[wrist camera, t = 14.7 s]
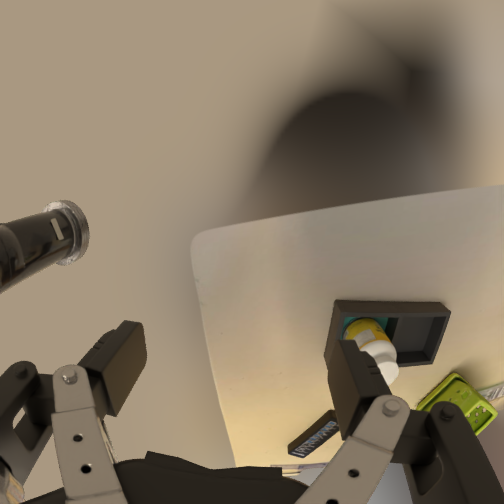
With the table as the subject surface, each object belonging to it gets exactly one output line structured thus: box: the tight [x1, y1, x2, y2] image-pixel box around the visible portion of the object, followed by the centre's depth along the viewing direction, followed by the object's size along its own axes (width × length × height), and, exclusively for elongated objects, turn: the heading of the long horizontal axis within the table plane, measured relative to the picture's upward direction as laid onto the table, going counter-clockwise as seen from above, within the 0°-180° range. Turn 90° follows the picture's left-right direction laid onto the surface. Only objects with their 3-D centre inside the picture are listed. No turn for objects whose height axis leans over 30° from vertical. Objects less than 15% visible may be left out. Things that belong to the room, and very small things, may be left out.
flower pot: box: [416, 373, 498, 436], centre depth 42 cm, size 14×14×13 cm
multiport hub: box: [288, 410, 340, 458], centre depth 50 cm, size 4×14×2 cm, turn 149°
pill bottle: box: [342, 317, 399, 385], centre depth 38 cm, size 6×6×12 cm
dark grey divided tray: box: [324, 300, 451, 369], centre depth 42 cm, size 20×10×4 cm, turn 87°
